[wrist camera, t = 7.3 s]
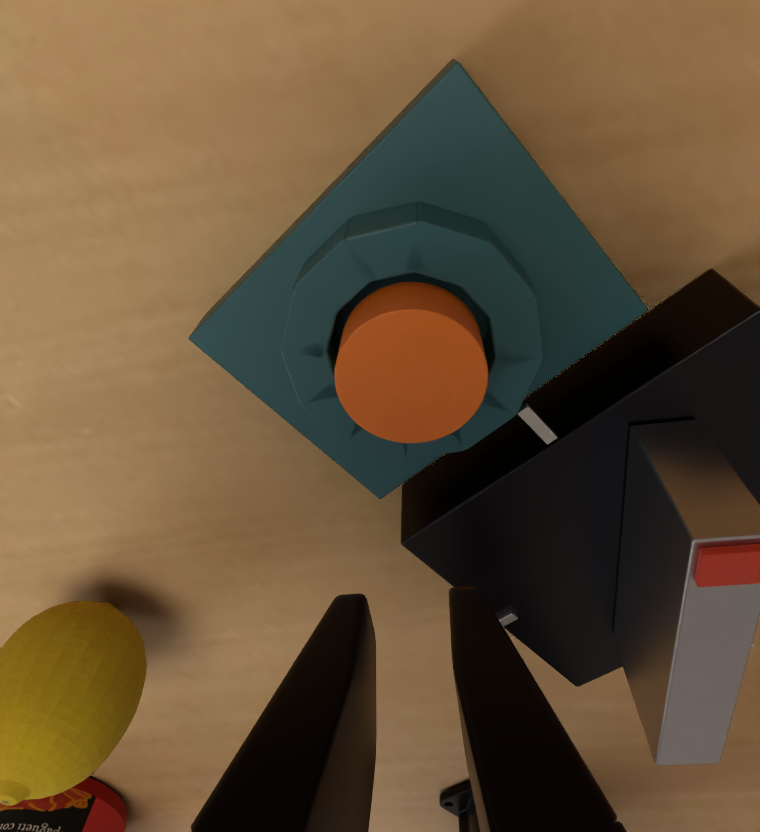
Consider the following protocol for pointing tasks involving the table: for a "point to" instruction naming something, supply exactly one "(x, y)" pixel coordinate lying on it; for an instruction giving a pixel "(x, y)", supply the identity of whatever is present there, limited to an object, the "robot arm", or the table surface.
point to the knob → (685, 589)
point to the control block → (422, 277)
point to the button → (411, 363)
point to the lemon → (66, 696)
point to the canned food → (68, 811)
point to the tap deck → (586, 473)
